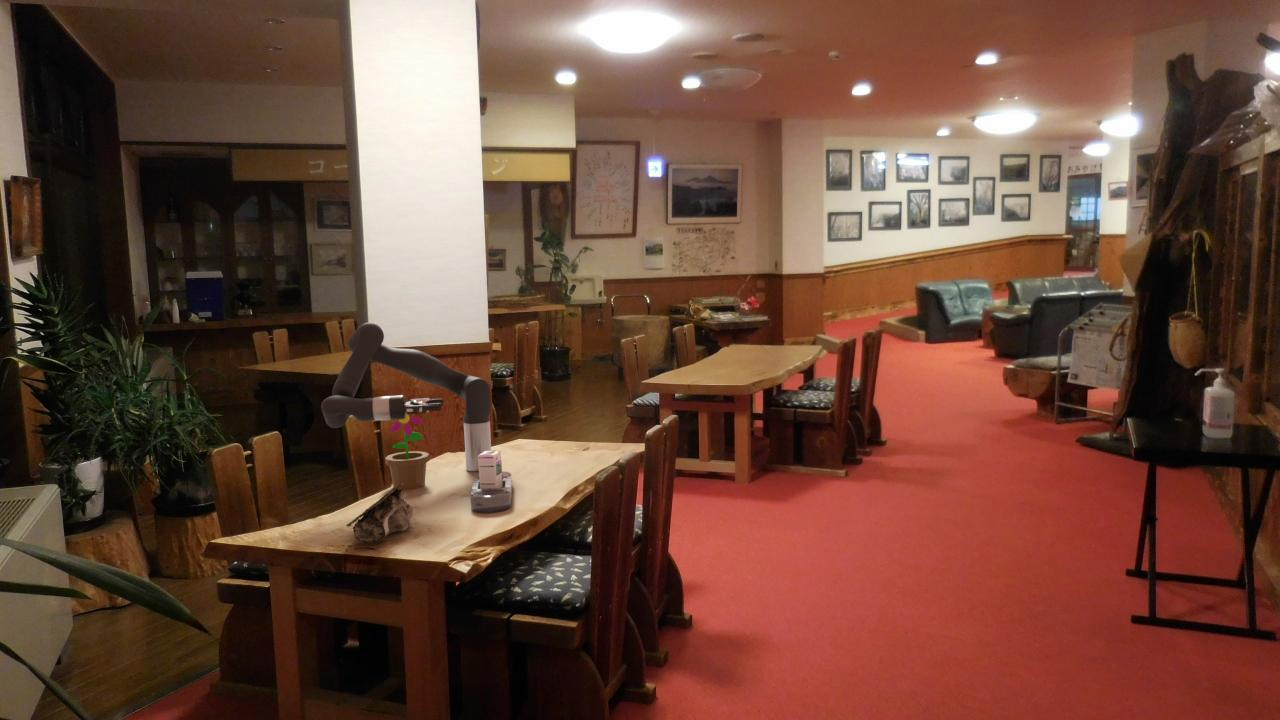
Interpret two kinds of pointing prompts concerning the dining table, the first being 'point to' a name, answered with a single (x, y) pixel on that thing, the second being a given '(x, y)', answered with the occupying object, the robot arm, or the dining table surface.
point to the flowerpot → (407, 458)
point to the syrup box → (490, 470)
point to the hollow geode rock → (383, 517)
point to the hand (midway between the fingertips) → (442, 404)
